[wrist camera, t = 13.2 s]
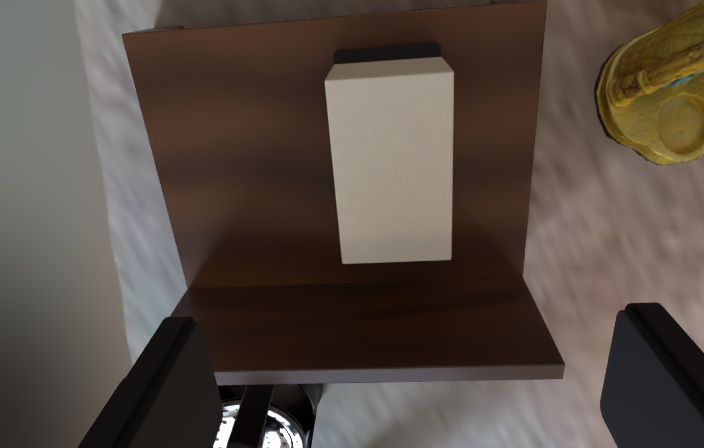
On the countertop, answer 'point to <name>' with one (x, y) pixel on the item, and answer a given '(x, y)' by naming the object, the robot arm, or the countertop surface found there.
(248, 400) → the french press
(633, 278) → the countertop surface
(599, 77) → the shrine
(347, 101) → the beige cuboid
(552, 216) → the countertop surface
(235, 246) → the shoe shelf
